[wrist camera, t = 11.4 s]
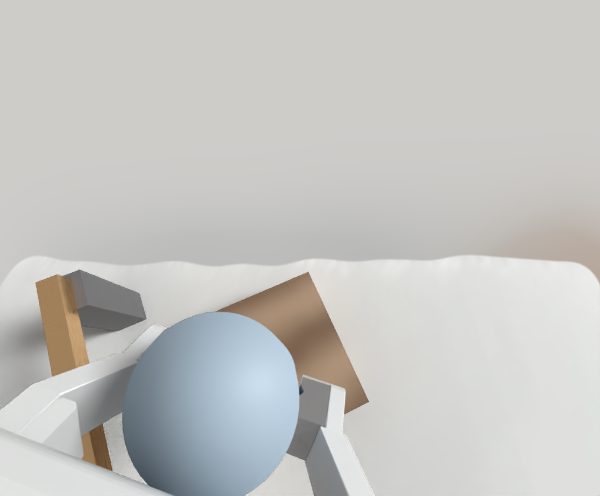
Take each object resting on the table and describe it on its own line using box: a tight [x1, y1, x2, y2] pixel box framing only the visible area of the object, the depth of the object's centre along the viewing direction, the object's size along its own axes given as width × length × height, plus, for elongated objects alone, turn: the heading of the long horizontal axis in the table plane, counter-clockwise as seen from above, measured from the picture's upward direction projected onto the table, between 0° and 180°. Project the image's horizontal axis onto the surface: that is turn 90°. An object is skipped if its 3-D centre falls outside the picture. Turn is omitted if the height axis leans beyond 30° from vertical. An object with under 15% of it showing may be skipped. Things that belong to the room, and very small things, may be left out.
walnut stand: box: [216, 272, 369, 414], centre depth 29 cm, size 12×12×6 cm
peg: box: [122, 312, 299, 496], centre depth 11 cm, size 4×4×9 cm
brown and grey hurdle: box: [63, 270, 146, 331], centre depth 25 cm, size 25×3×10 cm, turn 24°
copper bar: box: [36, 275, 112, 471], centre depth 19 cm, size 24×2×2 cm, turn 24°
